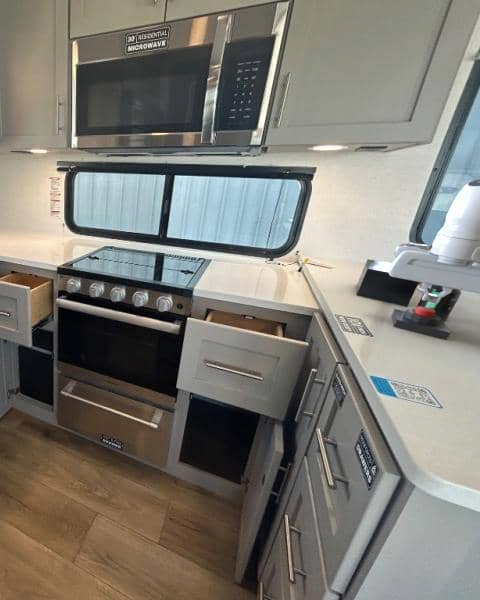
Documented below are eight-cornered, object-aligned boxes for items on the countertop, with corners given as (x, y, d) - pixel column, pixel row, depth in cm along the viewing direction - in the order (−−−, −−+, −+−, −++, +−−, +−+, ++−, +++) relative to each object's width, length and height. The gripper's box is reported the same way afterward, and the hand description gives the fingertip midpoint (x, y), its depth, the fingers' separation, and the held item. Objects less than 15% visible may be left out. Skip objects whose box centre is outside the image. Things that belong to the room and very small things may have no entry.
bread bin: (407, 307, 102) (420, 280, 98) (356, 295, 109) (366, 270, 105) (402, 294, 113) (414, 269, 109) (357, 284, 120) (366, 261, 117)
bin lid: (420, 281, 98) (421, 278, 97) (366, 270, 105) (367, 268, 104) (414, 269, 109) (415, 267, 109) (366, 261, 117) (367, 259, 116)
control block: (439, 327, 89) (446, 314, 87) (446, 340, 82) (454, 326, 80) (391, 315, 94) (397, 303, 93) (393, 327, 87) (400, 313, 86)
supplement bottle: (427, 320, 93) (448, 280, 88) (407, 310, 99) (426, 272, 95) (453, 322, 92) (475, 282, 88) (432, 312, 99) (452, 274, 94)
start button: (431, 315, 87) (434, 309, 86) (433, 319, 84) (436, 313, 84) (413, 310, 89) (416, 305, 88) (414, 314, 86) (417, 308, 86)
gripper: (401, 242, 83) (378, 293, 89) (525, 260, 72) (490, 317, 77) (399, 239, 88) (377, 287, 93) (515, 255, 76) (483, 309, 82)
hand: (429, 301), depth 85 cm, fingers closed
